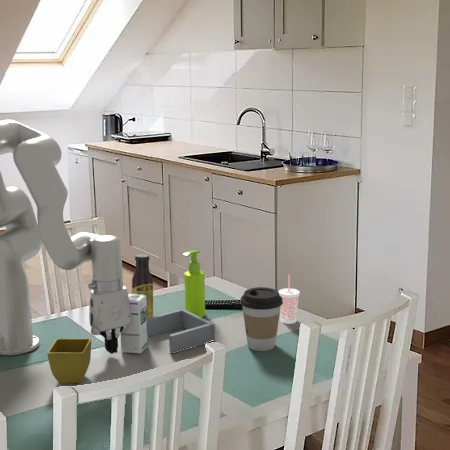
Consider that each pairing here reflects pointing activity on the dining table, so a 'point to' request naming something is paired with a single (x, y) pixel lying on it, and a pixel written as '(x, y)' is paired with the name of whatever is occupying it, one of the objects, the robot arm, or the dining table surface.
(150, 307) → the sauce bottle
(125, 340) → the syrup box
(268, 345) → the coffee cup
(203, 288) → the soap dispenser
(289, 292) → the beverage cup
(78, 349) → the flower pot
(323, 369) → the dining table surface
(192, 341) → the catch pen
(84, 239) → the robot arm
